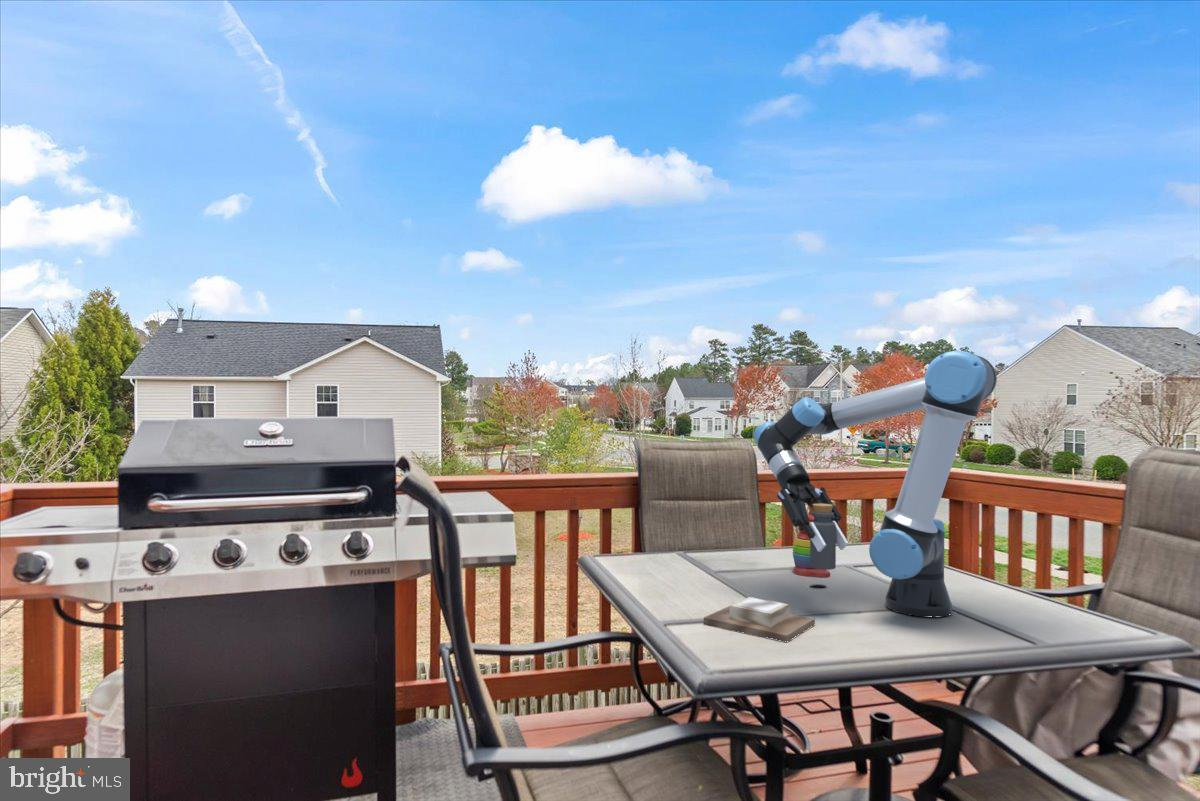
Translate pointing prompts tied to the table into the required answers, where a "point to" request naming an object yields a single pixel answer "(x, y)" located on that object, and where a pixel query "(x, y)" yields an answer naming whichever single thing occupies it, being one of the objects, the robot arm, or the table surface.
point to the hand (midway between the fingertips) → (833, 547)
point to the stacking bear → (805, 556)
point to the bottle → (824, 538)
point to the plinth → (761, 630)
